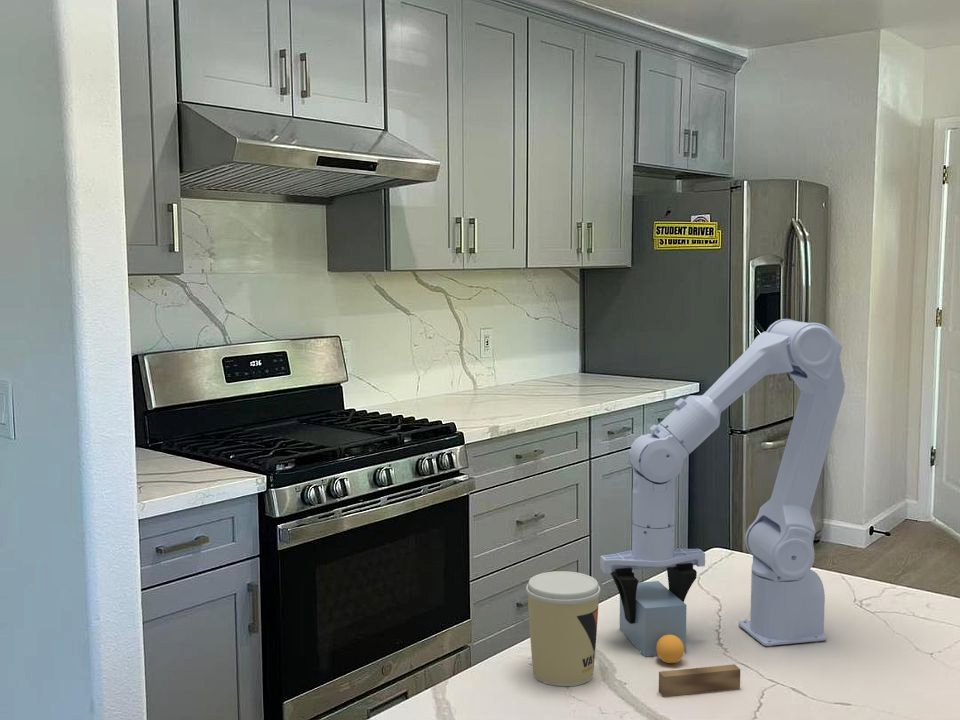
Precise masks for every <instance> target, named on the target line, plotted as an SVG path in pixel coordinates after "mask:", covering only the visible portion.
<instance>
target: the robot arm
mask: <svg viewBox="0 0 960 720" xmlns="http://www.w3.org/2000/svg"><path fill="white" fill-rule="evenodd" d="M842 349H843V345H842V343H841V342H840V341H839V340H838V338H837V337H836V335H835V334H834V333H833V331H832V330H831V329H830V328H829V327H828V326H826V325H824V324H822V323H819V322H806V321H805V322H804V321H797V320H794V319H791V318H781V319H778V320H775V321H774V322H773V323H771V324H770V325H769V326H768V328H767V329H766V331H763V332H761V333H760V334H758V335H757V336H756V337H755V338H754V340H753V342H752V343H751V344H750V346H748V348H747V349H746V350H745V351H744V352H743V353H742V354H741V355H740V356H739V357H738V358H737V359H736V360H735V361H734V362H733V363H732V364H731V365H730V366H729V367H728V369H727V370H725V372H724V373H723V374H722V375H721V376H719V377H718V379H717V380H716V381H715V382H714V383H713V384H712V385H711V386H710V387H709V388H708V389H707V390H706V391H705V392H704V393H703V394H701V395H694V394H693V395H689V396H687V397H686V398H679V399H677V400H676V401H675V402H674V406H675V408H674V409H673V410H672V411H671V412H670V413H669V414H668V415H667V416H666V417H665V418H663V419H662V421H660V422H659V423H658V424H657V425H656V424H653V425H652V426H650V427H649V430H650V432H651V433H647V434H642V435H640V436H638V437H636V439H635V440H633V441H632V444H631V445H630V449H629V452H626V457H627V463H628V464H629V465H630V467H631V468H632V470H633V472H632V475H633V477H632V480H633V481H632V484H633V486H632V492H631V493H632V499H631V500H632V501H631V502H632V503H631V504H632V509H631V510H632V512H631V513H632V514H631V515H632V516H631V517H632V518H631V519H632V521H631V525H632V526H631V527H632V528H631V549H630V550H626V551H622V552H618V553H612V554H611V553H610V554H606V555H600V559H599V561H600V562H599V563H600V565H599V566H600V567H599V568H600V571H601V572H602V573H604V574H605V575H607V574H610V576H611V577H612V579H613V582H614V583H615V586H616V588H617V591H618V594H619V598H620V597H621V600H622V604H623V608H624V614H625V619H626V620H627V621H628V622H629V623H630V624H634V623H635V618H636V608H635V600H636V591H637V586H638V583H639V580H638V579H637V577H635V573H634V572H633V571H635V570H636V571H637V570H639V571H640V570H649V569H651V570H652V569H664V568H666V573H667V582H668V590H670V591H671V592H672V593H673V594H674V595H675V596H677V597H678V598H679V599H680V600H681V601H682V602H684V603H685V599H686V597H687V594H688V593H689V590H690V588H691V587H692V585H693V584H694V582H695V581H696V579H697V573H698V572H697V570H696V569H695V568H694V566H696V567H706V552H705V551H703V550H702V549H700V548H675V532H676V531H675V529H676V528H675V527H676V526H675V525H676V524H675V521H676V519H675V516H676V509H675V508H676V490H675V489H676V488H675V487H676V486H675V485H676V484H675V483H676V477H677V476H679V475H680V473H681V471H682V470H683V464H684V459H685V458H687V457H688V456H689V455H690V454H692V452H694V451H695V450H696V448H698V447H699V446H700V445H701V444H702V443H704V441H705V440H706V439H707V438H708V437H710V435H711V434H713V433H714V432H715V431H716V430H717V429H718V428H719V427H720V424H721V415H722V413H723V411H725V410H726V409H727V408H728V407H730V405H732V404H733V403H734V402H735V401H736V400H738V399H739V398H740V397H742V395H744V394H745V393H746V392H747V391H748V390H750V389H751V388H752V387H754V386H755V385H756V384H758V382H759V381H760V380H762V379H763V378H764V377H765V376H769V375H777V374H784V373H787V374H788V375H789V376H790V377H791V378H792V380H793V382H794V383H795V385H796V386H797V388H798V390H799V391H800V395H799V396H798V397H799V398H798V401H797V405H796V408H795V412H794V415H793V418H792V421H791V422H792V423H791V426H790V429H789V432H788V436H787V440H786V444H785V447H784V451H783V454H782V458H781V462H780V465H779V469H778V470H777V471H778V472H777V475H776V479H775V482H774V486H773V489H772V491H771V492H772V493H771V495H770V498H769V499H768V500H767V501H766V502H765V503H763V504H762V505H761V506H760V508H759V509H758V513H757V516H756V518H755V519H754V521H753V522H752V523H751V524H749V526H748V528H747V530H746V531H745V536H744V544H745V546H746V549H747V551H748V553H749V555H751V556H752V563H751V575H750V577H751V578H750V581H751V582H750V584H751V585H750V613H749V614H750V619H749V620H742V621H738V624H737V625H738V626H739V628H742V629H743V630H744V631H745V632H746V633H748V634H749V635H750V636H751V637H752V638H753V639H755V640H756V641H758V643H760V644H762V645H763V646H765V647H768V646H769V647H770V646H778V645H789V644H799V643H811V642H821V641H822V642H823V641H826V640H827V636H826V635H825V634H824V631H825V630H824V629H825V628H824V626H825V602H826V600H825V599H826V598H825V597H826V596H825V595H826V594H825V589H824V588H825V587H824V584H823V582H822V581H823V580H822V579H821V577H820V576H819V573H817V572H816V571H815V570H812V568H813V565H814V562H815V558H816V556H815V555H816V554H815V553H816V552H815V548H814V539H815V535H816V526H815V524H814V521H813V518H812V517H813V516H812V513H811V508H812V505H813V502H814V498H815V495H816V491H817V489H818V484H819V481H820V477H821V473H822V470H823V467H824V463H825V459H826V456H827V453H828V449H829V445H830V442H831V440H832V435H833V432H834V429H835V425H836V421H837V417H838V414H839V412H840V407H841V404H842V400H843V397H844V393H845V388H846V387H845V386H846V384H845V379H844V373H843V368H842V363H841V358H840V357H841V353H842Z"/></svg>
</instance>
